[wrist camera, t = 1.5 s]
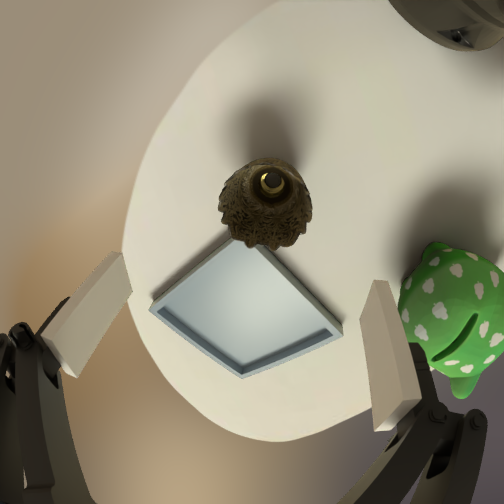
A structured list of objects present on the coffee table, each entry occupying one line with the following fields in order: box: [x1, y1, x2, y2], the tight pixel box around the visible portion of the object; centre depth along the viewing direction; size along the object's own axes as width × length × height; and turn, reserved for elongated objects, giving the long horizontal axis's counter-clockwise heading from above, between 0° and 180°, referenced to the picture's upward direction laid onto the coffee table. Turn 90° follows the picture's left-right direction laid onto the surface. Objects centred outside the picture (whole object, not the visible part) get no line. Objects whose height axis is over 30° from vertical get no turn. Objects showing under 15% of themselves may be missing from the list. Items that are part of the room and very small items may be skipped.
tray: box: [149, 238, 343, 379], centre depth 38 cm, size 20×20×2 cm
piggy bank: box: [397, 242, 504, 399], centre depth 25 cm, size 14×18×15 cm
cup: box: [218, 158, 312, 251], centre depth 25 cm, size 8×7×8 cm
